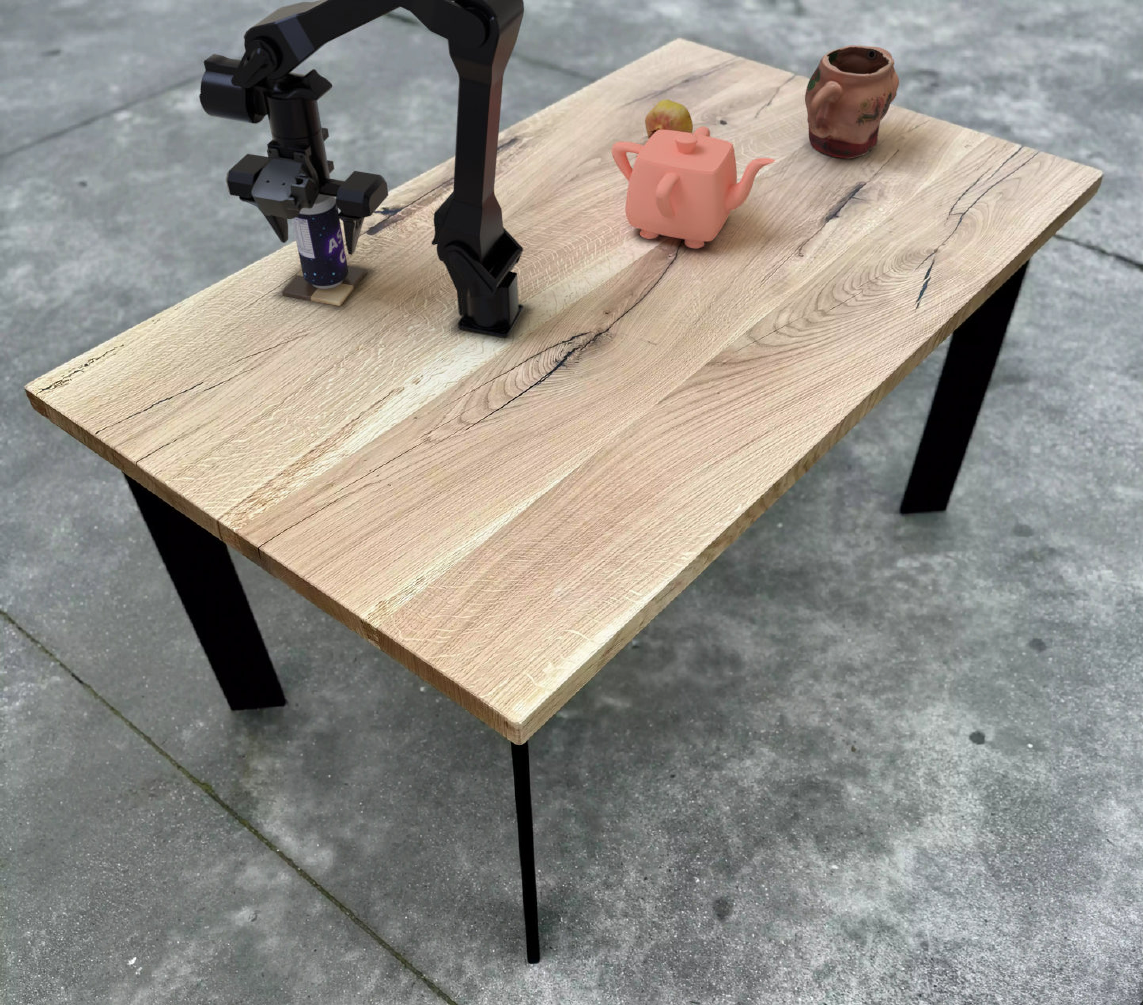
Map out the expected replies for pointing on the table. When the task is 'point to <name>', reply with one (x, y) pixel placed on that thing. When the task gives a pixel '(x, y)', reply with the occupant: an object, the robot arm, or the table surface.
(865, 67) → the decorative planter
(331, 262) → the beverage can
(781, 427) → the table surface
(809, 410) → the table surface
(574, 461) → the table surface
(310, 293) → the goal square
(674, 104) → the fruit
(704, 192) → the teapot
